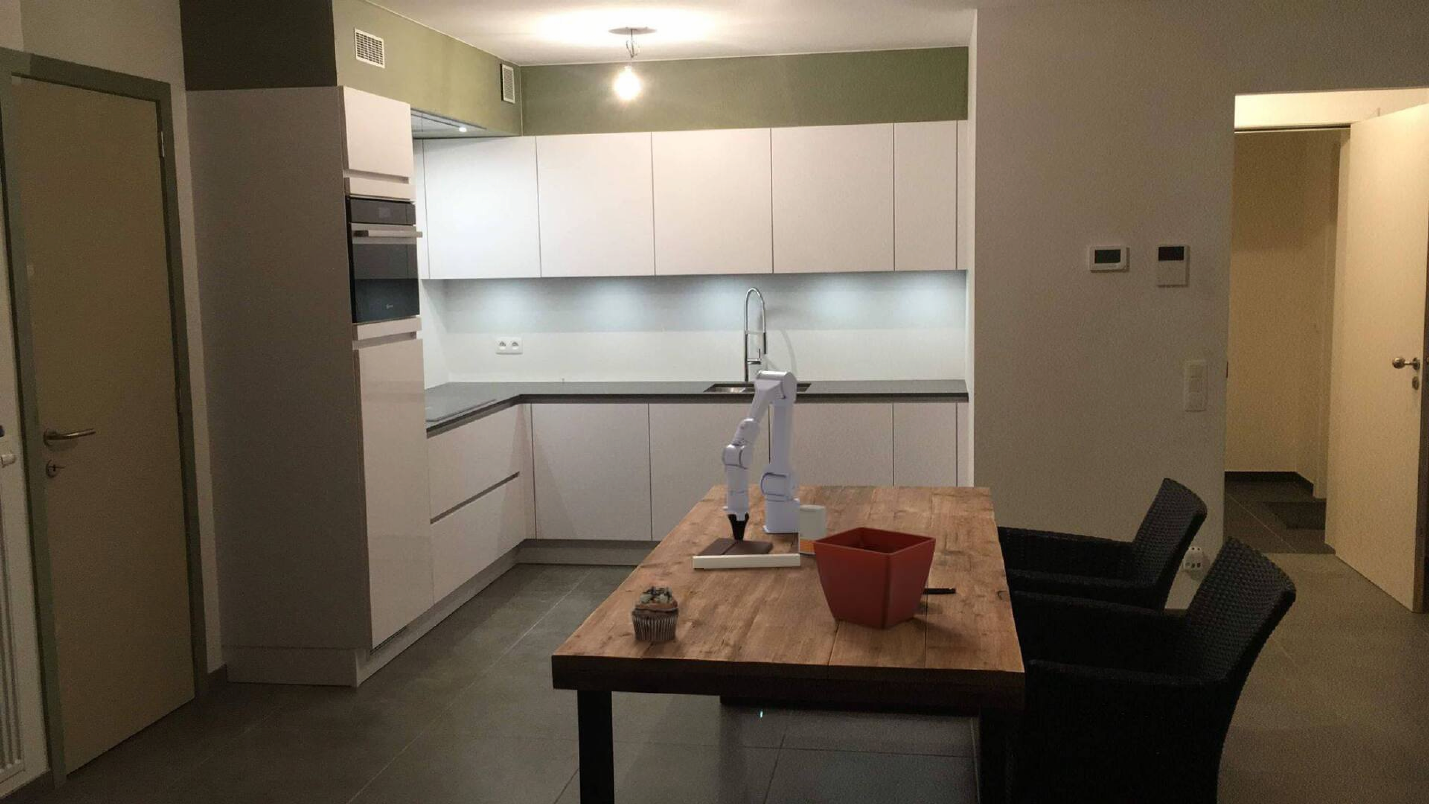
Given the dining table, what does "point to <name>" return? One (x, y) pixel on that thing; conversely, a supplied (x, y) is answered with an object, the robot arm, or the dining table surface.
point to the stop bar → (746, 561)
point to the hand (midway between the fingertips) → (738, 541)
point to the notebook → (736, 547)
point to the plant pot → (874, 574)
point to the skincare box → (811, 527)
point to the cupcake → (655, 615)
